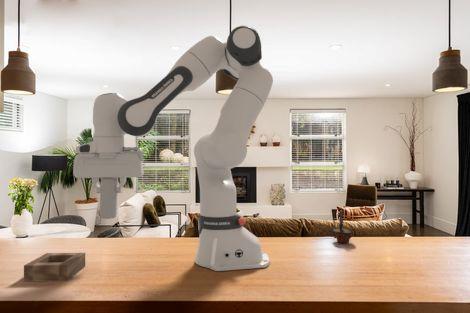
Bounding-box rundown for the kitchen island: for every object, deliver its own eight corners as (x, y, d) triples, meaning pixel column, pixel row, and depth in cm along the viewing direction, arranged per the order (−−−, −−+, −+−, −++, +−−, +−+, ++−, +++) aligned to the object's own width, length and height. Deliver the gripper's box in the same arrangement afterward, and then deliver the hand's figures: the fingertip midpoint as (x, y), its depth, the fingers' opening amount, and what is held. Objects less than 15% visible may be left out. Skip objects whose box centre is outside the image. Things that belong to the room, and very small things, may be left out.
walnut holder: (85, 266, 97) (85, 252, 97) (67, 280, 86) (67, 265, 86) (46, 266, 96) (46, 253, 96) (23, 281, 85) (23, 265, 85)
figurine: (356, 246, 118) (356, 212, 118) (333, 245, 118) (333, 212, 118) (349, 239, 127) (349, 208, 127) (327, 239, 128) (327, 207, 128)
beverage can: (111, 219, 99) (113, 178, 99) (96, 218, 99) (97, 178, 99) (119, 216, 103) (120, 177, 103) (104, 215, 104) (105, 177, 104)
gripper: (145, 147, 105) (146, 191, 105) (79, 147, 104) (80, 192, 104) (140, 146, 98) (141, 193, 98) (70, 147, 98) (70, 194, 98)
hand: (109, 192), depth 101 cm, fingers closed on beverage can, 5 cm apart
